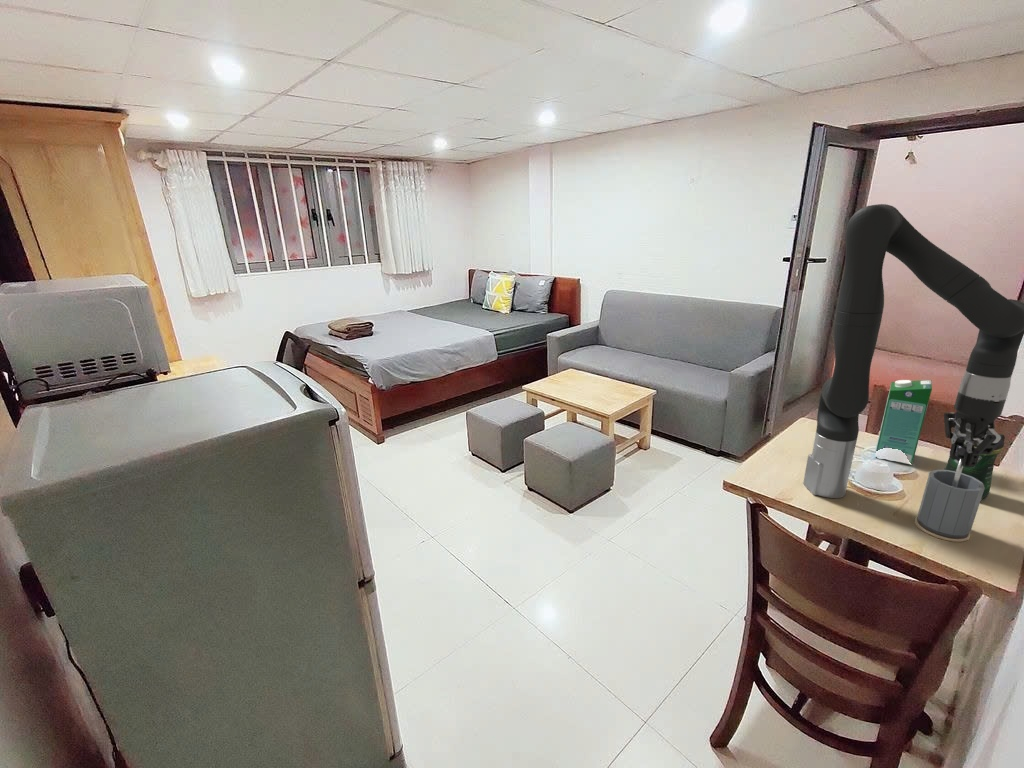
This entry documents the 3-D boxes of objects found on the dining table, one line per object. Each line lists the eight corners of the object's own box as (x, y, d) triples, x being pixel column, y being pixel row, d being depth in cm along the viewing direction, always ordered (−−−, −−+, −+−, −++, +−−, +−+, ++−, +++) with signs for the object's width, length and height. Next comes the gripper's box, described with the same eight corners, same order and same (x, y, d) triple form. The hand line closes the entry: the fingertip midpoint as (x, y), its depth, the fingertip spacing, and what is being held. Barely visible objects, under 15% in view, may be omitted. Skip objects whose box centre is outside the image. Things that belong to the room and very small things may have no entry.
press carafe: (934, 541, 109) (949, 491, 104) (904, 515, 118) (917, 468, 114) (981, 542, 108) (998, 491, 103) (948, 516, 117) (962, 469, 112)
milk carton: (876, 446, 152) (893, 374, 144) (912, 454, 147) (931, 379, 138) (874, 457, 146) (891, 383, 137) (911, 465, 140) (932, 388, 132)
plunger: (940, 525, 109) (962, 453, 103) (920, 509, 115) (939, 440, 109) (971, 526, 108) (995, 453, 102) (949, 509, 114) (970, 440, 108)
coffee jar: (992, 495, 124) (1013, 432, 118) (977, 504, 121) (998, 440, 115) (947, 479, 132) (965, 419, 126) (932, 486, 129) (950, 426, 123)
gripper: (938, 382, 108) (921, 448, 114) (991, 405, 95) (968, 478, 101) (974, 381, 107) (955, 448, 113) (1032, 404, 94) (1007, 478, 100)
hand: (961, 462), depth 107 cm, fingers closed on plunger, 3 cm apart
